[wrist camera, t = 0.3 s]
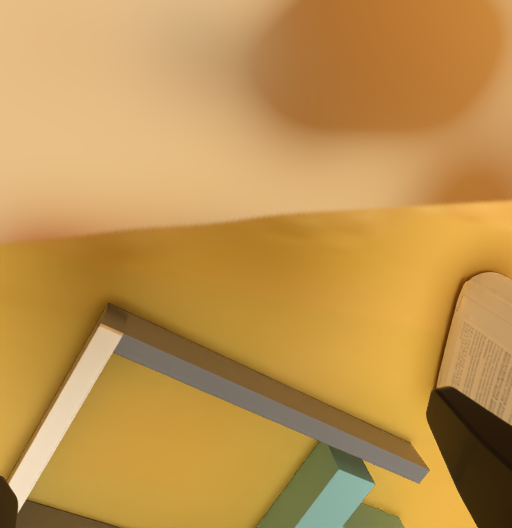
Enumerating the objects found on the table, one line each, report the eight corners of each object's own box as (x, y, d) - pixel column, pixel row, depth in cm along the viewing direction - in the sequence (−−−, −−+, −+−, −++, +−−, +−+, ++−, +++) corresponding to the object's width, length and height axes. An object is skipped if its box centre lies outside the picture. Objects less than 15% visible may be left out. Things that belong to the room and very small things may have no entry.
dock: (293, 592, 33) (303, 632, 31) (-9, 506, 26) (-29, 549, 24) (410, 443, 30) (432, 473, 28) (108, 303, 23) (99, 326, 21)
